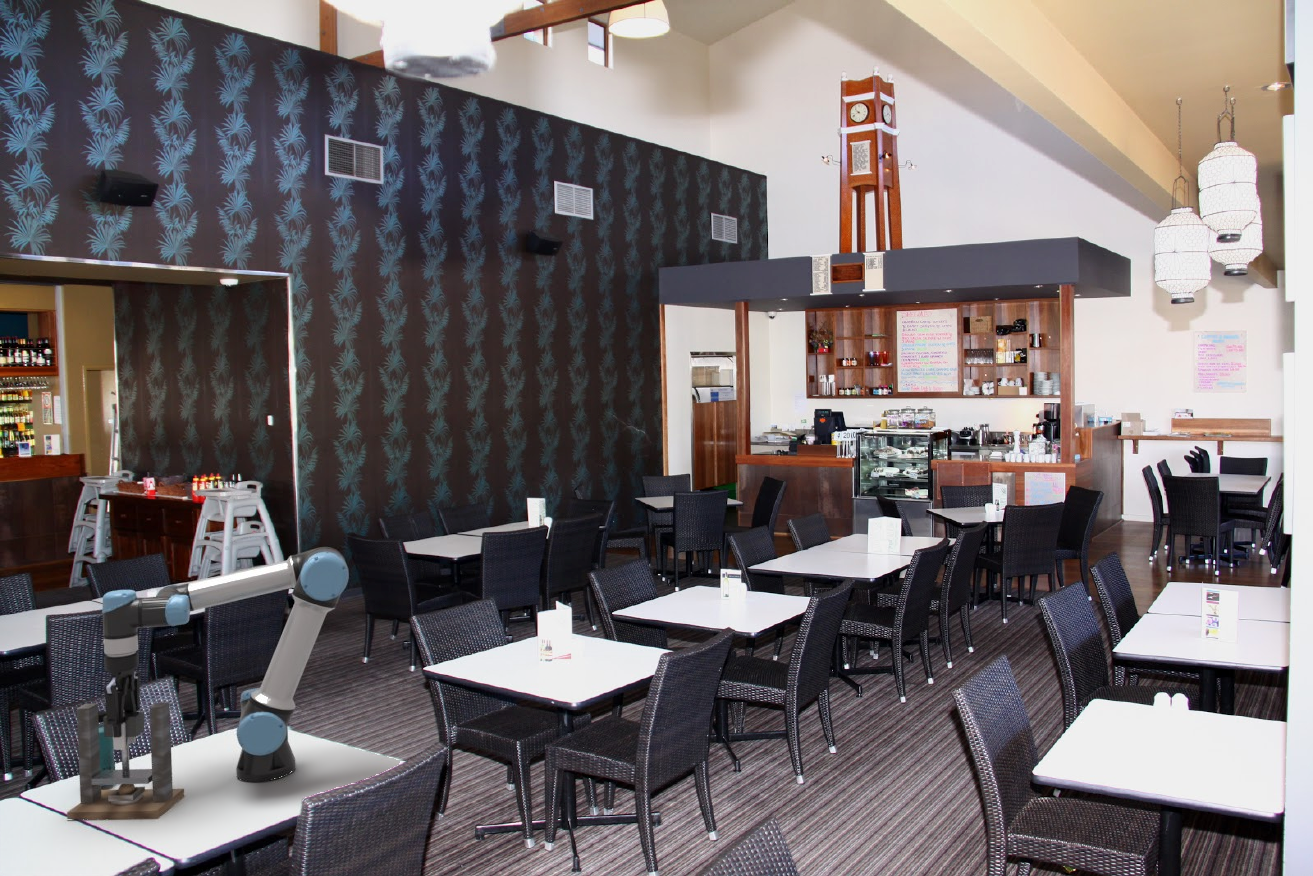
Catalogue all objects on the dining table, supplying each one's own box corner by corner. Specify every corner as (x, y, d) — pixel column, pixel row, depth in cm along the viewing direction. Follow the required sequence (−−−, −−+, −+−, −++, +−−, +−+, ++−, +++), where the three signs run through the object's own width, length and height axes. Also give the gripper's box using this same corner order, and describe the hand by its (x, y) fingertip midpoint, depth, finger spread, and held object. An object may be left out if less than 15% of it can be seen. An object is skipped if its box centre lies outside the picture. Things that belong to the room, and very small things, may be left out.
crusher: (160, 774, 256) (157, 710, 256) (148, 783, 250) (145, 717, 250) (104, 775, 256) (102, 711, 256) (91, 784, 250) (88, 718, 250)
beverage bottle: (103, 793, 264) (100, 717, 263) (81, 791, 265) (78, 716, 264) (121, 783, 270) (118, 709, 269) (100, 782, 272) (97, 708, 271)
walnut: (137, 793, 255) (137, 779, 255) (130, 799, 252) (129, 784, 252) (123, 793, 255) (123, 779, 255) (116, 799, 252) (115, 785, 252)
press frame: (184, 796, 261) (180, 696, 260) (157, 818, 247) (153, 713, 246) (98, 797, 261) (94, 697, 260) (67, 820, 247) (62, 715, 246)
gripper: (124, 645, 261) (127, 734, 262) (87, 662, 244) (90, 758, 245) (153, 644, 261) (156, 734, 262) (118, 661, 244) (122, 757, 245)
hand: (125, 745), depth 253 cm, fingers closed on crusher, 4 cm apart
